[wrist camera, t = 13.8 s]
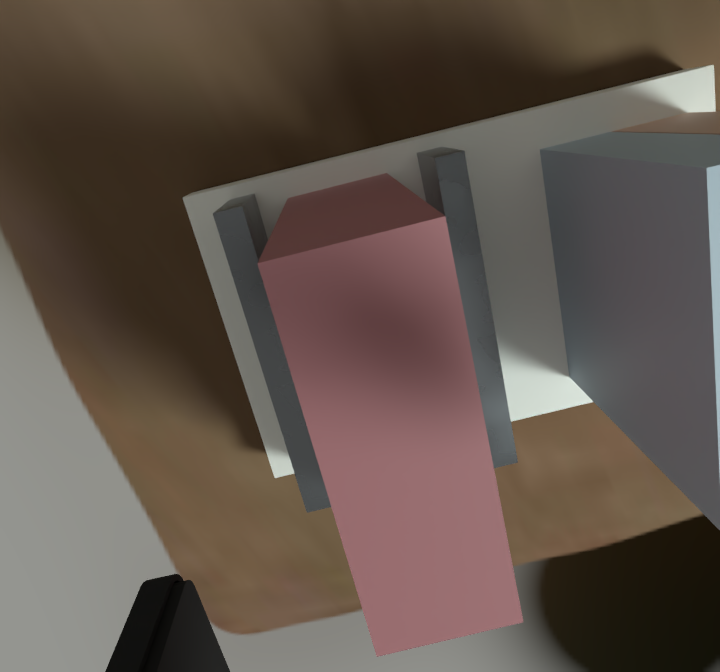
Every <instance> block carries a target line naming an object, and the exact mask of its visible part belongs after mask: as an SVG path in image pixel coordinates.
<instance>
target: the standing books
mask: <svg viewBox="0 0 720 672" xmlns="http://www.w3.org/2000/svg"><path fill="white" fill-rule="evenodd" d="M540 156H541V163H542V171H543V179H544V186H545V194H546V202H547V209H548V217H549V225H550V232H551V240H552V248H553V255H554V263H555V271H556V278H557V286H558V294H559V301H560V309H561V316H562V324H563V332H564V339H565V347H566V355H567V362H568V370H569V377H570V378H571V379H572V380H573V381H574V382H575V383H576V384H577V385H578V386H579V387H580V388H581V389H582V390H583V391H584V392H585V393H586V395H587V396H588V397H589V398H590V399H591V400H592V401H593V402H594V403H595V404H596V405H597V406H598V407H599V408H600V409H601V410H602V411H603V412H604V413H605V414H606V415H607V416H608V417H609V418H610V419H611V420H612V421H613V422H614V423H615V424H616V425H617V426H618V427H619V428H620V429H621V430H622V431H623V432H624V433H625V434H626V435H627V436H628V437H629V438H630V439H631V440H632V441H633V442H634V443H635V444H636V445H637V446H638V447H639V448H640V449H641V450H642V452H643V453H644V454H645V455H646V456H647V457H648V458H649V459H650V460H651V461H652V462H653V463H654V464H655V465H656V466H657V467H658V468H659V469H660V470H661V471H662V472H663V473H664V474H665V475H666V476H667V477H668V478H669V479H670V480H671V481H672V482H673V483H674V484H675V485H676V486H677V487H678V488H679V489H680V490H681V491H682V492H683V493H684V494H685V495H686V496H687V497H688V498H689V499H690V500H691V501H692V502H693V503H694V504H695V505H696V506H697V507H698V509H699V510H700V511H701V512H702V513H703V514H704V515H705V516H706V517H707V518H708V519H709V520H710V521H711V522H712V523H713V524H714V525H715V526H716V527H717V528H718V529H719V530H720V111H718V112H689V113H684V114H680V115H676V116H672V117H668V118H664V119H660V120H656V121H652V122H648V123H644V124H639V125H635V126H631V127H627V128H623V129H619V130H615V131H612V132H607V133H603V134H599V135H595V136H591V137H587V138H583V139H579V140H575V141H571V142H567V143H563V144H559V145H555V146H551V147H547V148H543V149H540Z"/></svg>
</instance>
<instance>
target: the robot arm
mask: <svg viewBox="0 0 720 672" xmlns="http://www.w3.org/2000/svg"><path fill="white" fill-rule="evenodd" d="M105 672H230V670H229V668H228V666H227V663H226V661H225V658H224V656H223V653H222V651H221V649H220V646H219V644H218V641H217V639H216V637H215V634H214V632H213V629H212V627H211V624H210V622H209V620H208V617H207V615H206V612H205V610H204V608H203V605H202V603H201V600H200V598H199V595H198V593H197V591H196V588H195V586H194V584H193V582H192V581H191V580H187V581H183V579H182V577H181V576H180V575H179V574H174V575H169V576H165V577H160V578H155V579H151V580H147V581H145V582H144V583H143V584H142V585H141V587H140V590H139V592H138V594H137V597H136V599H135V602H134V604H133V607H132V609H131V611H130V614H129V617H128V618H127V621H126V623H125V626H124V628H123V631H122V633H121V635H120V638H119V640H118V643H117V645H116V647H115V650H114V652H113V655H112V657H111V659H110V662H109V664H108V667H107V669H106V671H105Z"/></svg>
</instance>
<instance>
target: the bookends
mask: <svg viewBox="0 0 720 672" xmlns="http://www.w3.org/2000/svg"><path fill="white" fill-rule="evenodd" d="M417 157H418V162H419V168H420V173H421V178H422V183H423V188H424V193H425V198H426V202H427V203H428V204H430V205H431V206H432V207H434V208H435V209H436V210H438V211H439V212H440V213H442V214H443V215H444V216H445V217H446V222H447V227H448V232H449V238H450V243H451V248H452V253H453V258H454V264H455V269H456V274H457V279H458V284H459V290H460V295H461V300H462V305H463V310H464V316H465V321H466V326H467V331H468V336H469V342H470V347H471V352H472V357H473V362H474V368H475V373H476V378H477V383H478V388H479V394H480V399H481V404H482V409H483V414H484V420H485V425H486V430H487V435H488V440H489V446H490V451H491V456H492V461H493V466H494V468H496V467H500V466H505V465H509V464H513V463H517V462H518V461H517V455H516V449H515V443H514V438H513V432H512V426H511V420H510V414H509V408H508V402H507V397H506V391H505V385H504V379H503V373H502V367H501V362H500V356H499V350H498V344H497V338H496V332H495V326H494V321H493V315H492V309H491V303H490V297H489V291H488V285H487V280H486V274H485V268H484V262H483V256H482V250H481V245H480V239H479V233H478V227H477V221H476V215H475V209H474V204H473V198H472V192H471V186H470V180H469V174H468V168H467V163H466V157H465V151H463V150H458V149H452V148H447V147H438V148H434V149H430V150H426V151H422V152H418V153H417ZM213 217H214V220H215V223H216V226H217V229H218V232H219V236H220V239H221V242H222V245H223V248H224V251H225V255H226V258H227V261H228V264H229V267H230V270H231V274H232V277H233V280H234V283H235V286H236V289H237V293H238V296H239V299H240V302H241V305H242V308H243V312H244V315H245V318H246V321H247V324H248V327H249V331H250V334H251V337H252V340H253V343H254V346H255V350H256V353H257V356H258V359H259V362H260V365H261V369H262V372H263V375H264V378H265V381H266V384H267V388H268V391H269V394H270V397H271V400H272V403H273V407H274V410H275V413H276V416H277V419H278V422H279V426H280V429H281V432H282V435H283V438H284V441H285V445H286V448H287V451H288V454H289V457H290V460H291V463H292V467H293V470H294V473H295V476H296V479H297V482H298V486H299V489H300V492H301V495H302V498H303V501H304V505H305V508H306V511H307V512H311V511H316V510H320V509H324V508H328V507H331V504H330V500H329V497H328V494H327V491H326V487H325V484H324V481H323V477H322V474H321V471H320V468H319V464H318V461H317V458H316V454H315V451H314V448H313V445H312V441H311V438H310V435H309V431H308V428H307V425H306V422H305V418H304V415H303V412H302V408H301V405H300V402H299V399H298V395H297V392H296V389H295V385H294V382H293V379H292V376H291V372H290V369H289V366H288V362H287V359H286V356H285V353H284V349H283V346H282V343H281V339H280V336H279V333H278V330H277V326H276V323H275V320H274V316H273V313H272V310H271V306H270V303H269V300H268V297H267V293H266V290H265V287H264V283H263V280H262V277H261V274H260V270H259V267H258V264H257V263H258V261H259V259H260V257H261V255H262V253H263V250H264V248H265V246H266V244H267V242H268V238H267V235H266V231H265V228H264V224H263V221H262V217H261V214H260V210H259V207H258V203H257V200H256V197H255V193H254V194H250V195H246V196H242V197H238V198H234V199H230V200H229V201H227V202H226V203H225V204H224V205H222V206H221V207H220V208H219V209H218V210H216V211H215V212H214V213H213Z"/></svg>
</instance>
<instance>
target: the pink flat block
mask: <svg viewBox="0 0 720 672" xmlns="http://www.w3.org/2000/svg"><path fill="white" fill-rule="evenodd" d="M257 264H258V267H259V270H260V274H261V277H262V280H263V283H264V287H265V290H266V293H267V297H268V300H269V303H270V306H271V310H272V313H273V316H274V320H275V323H276V326H277V330H278V333H279V336H280V339H281V343H282V346H283V349H284V353H285V356H286V359H287V362H288V366H289V369H290V372H291V376H292V379H293V382H294V385H295V389H296V392H297V395H298V399H299V402H300V405H301V408H302V412H303V415H304V418H305V422H306V425H307V428H308V431H309V435H310V438H311V441H312V445H313V448H314V451H315V454H316V458H317V461H318V464H319V468H320V471H321V474H322V477H323V481H324V484H325V487H326V491H327V494H328V497H329V500H330V504H331V507H332V510H333V514H334V517H335V520H336V523H337V527H338V530H339V533H340V537H341V540H342V543H343V547H344V550H345V553H346V556H347V560H348V563H349V566H350V570H351V573H352V576H353V579H354V583H355V586H356V589H357V593H358V596H359V599H360V602H361V606H362V609H363V612H364V616H365V619H366V622H367V625H368V629H369V632H370V635H371V638H372V642H373V645H374V648H375V652H376V655H377V657H378V656H382V655H386V654H390V653H395V652H399V651H403V650H407V649H412V648H416V647H420V646H424V645H429V644H433V643H437V642H441V641H446V640H450V639H454V638H458V637H462V636H467V635H471V634H475V633H479V632H484V631H488V630H492V629H496V628H501V627H505V626H509V625H513V624H518V623H522V622H523V618H522V612H521V607H520V602H519V597H518V591H517V587H516V582H515V576H514V571H513V565H512V560H511V555H510V550H509V545H508V539H507V534H506V529H505V524H504V519H503V513H502V508H501V503H500V498H499V493H498V487H497V482H496V477H495V472H494V466H493V461H492V456H491V451H490V446H489V440H488V435H487V430H486V425H485V420H484V414H483V409H482V404H481V399H480V394H479V388H478V383H477V378H476V373H475V368H474V362H473V357H472V352H471V347H470V342H469V336H468V331H467V326H466V321H465V316H464V310H463V305H462V300H461V295H460V290H459V284H458V279H457V274H456V269H455V264H454V258H453V253H452V248H451V243H450V238H449V232H448V227H447V222H446V217H445V216H444V215H443V214H442V213H440V212H439V211H438V210H436V209H435V208H434V207H432V206H431V205H430V204H428V203H427V202H425V201H424V200H423V199H421V198H420V197H419V196H417V195H416V194H415V193H413V192H412V191H411V190H409V189H408V188H407V187H405V186H404V185H402V184H401V183H400V182H398V181H397V180H396V179H394V178H393V177H392V176H390V175H389V174H388V173H384V174H381V175H377V176H373V177H369V178H365V179H361V180H357V181H353V182H349V183H345V184H341V185H337V186H333V187H329V188H325V189H322V190H318V191H314V192H310V193H306V194H302V195H298V196H294V197H290V198H288V199H287V201H286V203H285V205H284V207H283V209H282V212H281V214H280V216H279V218H278V220H277V222H276V225H275V227H274V229H273V231H272V233H271V235H270V237H269V240H268V242H267V244H266V246H265V248H264V250H263V253H262V255H261V257H260V259H259V261H258V263H257Z"/></svg>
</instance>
